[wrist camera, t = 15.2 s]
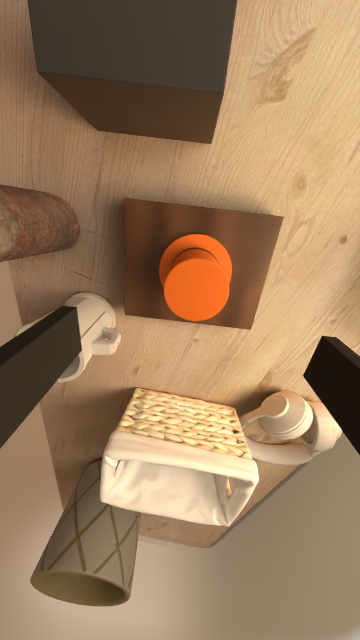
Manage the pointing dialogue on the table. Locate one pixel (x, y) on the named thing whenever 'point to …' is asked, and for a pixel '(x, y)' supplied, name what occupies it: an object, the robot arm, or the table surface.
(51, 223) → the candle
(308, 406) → the headphones
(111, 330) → the cup
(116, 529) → the planter
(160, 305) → the brown wooden board
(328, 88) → the table surface
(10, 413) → the robot arm
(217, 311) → the hat
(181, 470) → the basket
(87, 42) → the television
